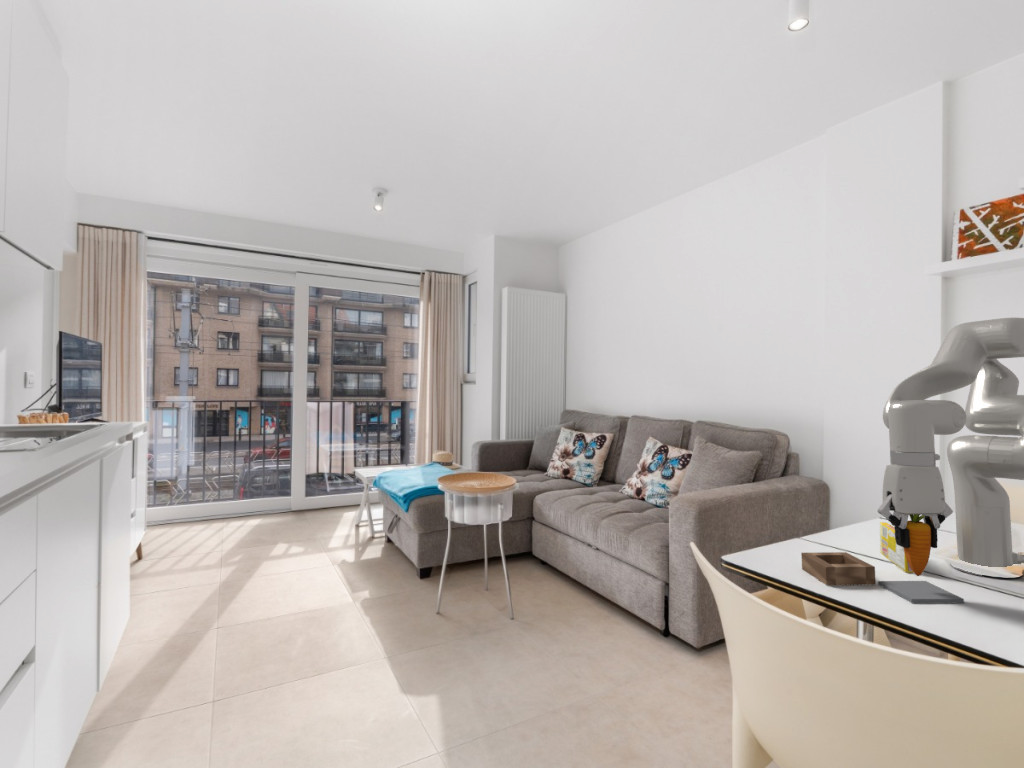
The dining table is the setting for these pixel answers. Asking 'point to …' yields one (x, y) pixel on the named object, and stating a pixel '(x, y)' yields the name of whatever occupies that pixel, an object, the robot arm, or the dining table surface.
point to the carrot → (918, 544)
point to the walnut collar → (838, 568)
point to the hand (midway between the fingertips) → (916, 545)
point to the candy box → (892, 548)
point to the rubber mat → (920, 592)
